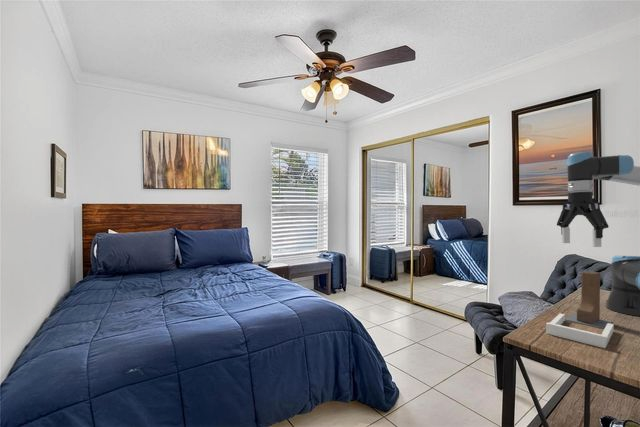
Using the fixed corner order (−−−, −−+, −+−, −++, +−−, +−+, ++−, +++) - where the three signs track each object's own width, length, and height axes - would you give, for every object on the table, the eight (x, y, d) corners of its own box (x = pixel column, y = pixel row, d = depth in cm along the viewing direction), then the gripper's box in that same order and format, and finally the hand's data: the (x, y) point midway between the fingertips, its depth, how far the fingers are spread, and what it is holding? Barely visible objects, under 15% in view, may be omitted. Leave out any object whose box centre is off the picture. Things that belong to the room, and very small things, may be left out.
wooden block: (591, 324, 112) (592, 275, 112) (576, 320, 116) (576, 273, 115) (599, 319, 117) (600, 272, 117) (584, 316, 121) (585, 270, 120)
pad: (571, 313, 124) (571, 312, 124) (611, 322, 115) (611, 321, 115) (564, 320, 117) (564, 319, 117) (607, 329, 108) (607, 328, 108)
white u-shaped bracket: (559, 319, 118) (559, 310, 118) (613, 331, 107) (613, 321, 106) (546, 333, 105) (546, 323, 105) (605, 348, 94) (605, 337, 94)
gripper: (546, 193, 134) (547, 241, 135) (601, 189, 109) (602, 248, 110) (562, 193, 135) (563, 241, 135) (621, 189, 110) (622, 248, 110)
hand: (580, 244), depth 122 cm, fingers open, 13 cm apart
